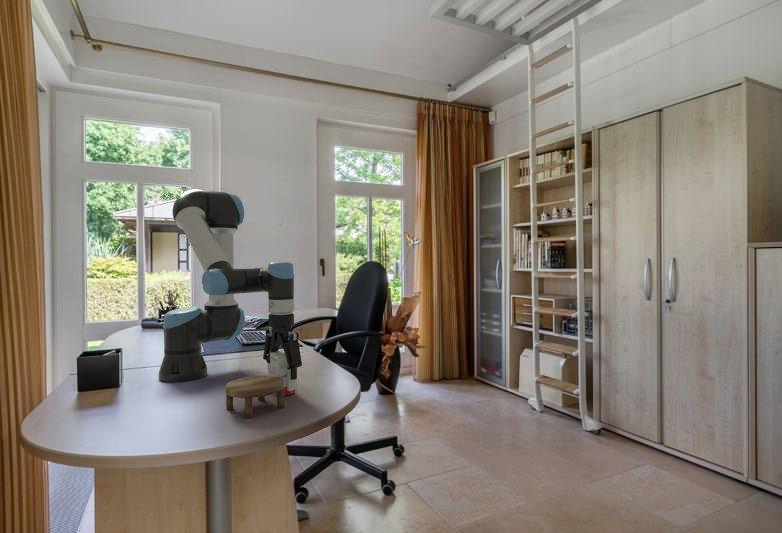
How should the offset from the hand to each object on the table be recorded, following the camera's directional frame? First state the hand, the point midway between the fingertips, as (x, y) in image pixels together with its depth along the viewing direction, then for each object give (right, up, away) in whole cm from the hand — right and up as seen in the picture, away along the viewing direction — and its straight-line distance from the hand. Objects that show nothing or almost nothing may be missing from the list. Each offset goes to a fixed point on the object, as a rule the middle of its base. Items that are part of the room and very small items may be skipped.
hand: (282, 386), depth 130 cm
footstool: (-4, -2, -14) cm, 15 cm away
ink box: (0, -2, 0) cm, 2 cm away
